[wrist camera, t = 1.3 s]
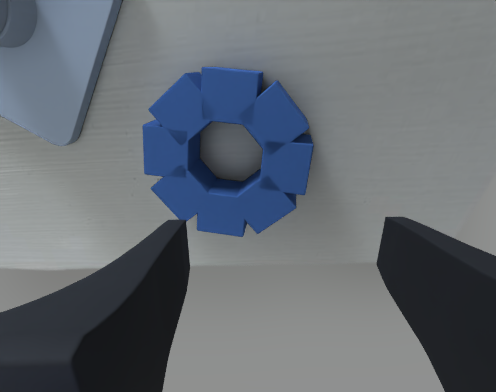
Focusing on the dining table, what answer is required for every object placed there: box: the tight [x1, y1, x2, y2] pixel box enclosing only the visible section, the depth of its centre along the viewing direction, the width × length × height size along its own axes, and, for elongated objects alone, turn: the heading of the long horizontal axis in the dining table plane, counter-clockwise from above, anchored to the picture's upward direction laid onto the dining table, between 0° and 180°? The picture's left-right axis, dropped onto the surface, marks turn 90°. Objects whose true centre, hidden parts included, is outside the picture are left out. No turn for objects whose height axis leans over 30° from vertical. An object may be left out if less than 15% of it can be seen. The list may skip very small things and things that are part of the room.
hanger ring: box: [143, 67, 313, 237], centre depth 20 cm, size 10×10×3 cm
